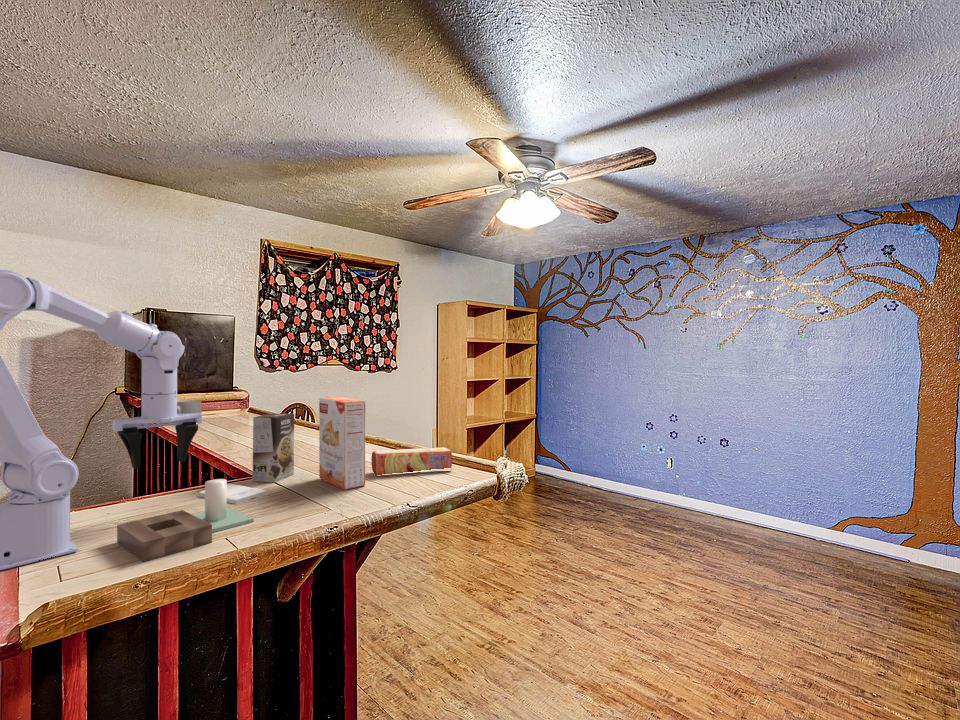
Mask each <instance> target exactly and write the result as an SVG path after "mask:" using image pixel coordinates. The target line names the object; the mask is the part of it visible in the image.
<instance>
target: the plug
mask: <svg viewBox="0 0 960 720" xmlns="http://www.w3.org/2000/svg"><path fill="white" fill-rule="evenodd" d="M227 481H228V480H227V479H225V478H216V479H211V480H207V481H205V482H204V490H205V498H204V512H205V521H208V522H215V521H220V520H223V519H225V518H226V517H227V507H228V506H227V505H228V502H227V484H228V482H227Z"/></svg>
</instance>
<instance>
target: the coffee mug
mask: <svg viewBox="0 0 960 720" xmlns="http://www.w3.org/2000/svg"><path fill="white" fill-rule="evenodd" d="M187 413H201V414H202V399H201V400H200V399H183V400H177V414H187Z"/></svg>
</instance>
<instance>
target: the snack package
mask: <svg viewBox="0 0 960 720" xmlns="http://www.w3.org/2000/svg"><path fill="white" fill-rule="evenodd" d="M452 454H453V453H452V451H451V450H450V448H447V447H445V446H443V447H430V448H428V447H427V448H425V447H424V448H421V447H420V448H403V449H401V448H400V449H376V450H375V449H374V450H373V451H372V453H371V470H372V473H373V472H374V473H373V475H374V474H375V475H382V474H392V473H403V472H413V471H421V470H431V469H444V468H451V467H453V455H452ZM451 469H452V468H451ZM375 475H374V476H375Z"/></svg>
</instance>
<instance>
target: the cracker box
mask: <svg viewBox="0 0 960 720" xmlns="http://www.w3.org/2000/svg"><path fill="white" fill-rule="evenodd" d="M318 398H319V399H318V401H319V408H318V409H319V410H318V411H319V413H318V415H319V416H318V417H319V420H318V422H319V423H318V425H319V427H318V429H319V433H318V435H319V436H318V438H319V439H318V441H319V442H318V443H319V444H318V447H319V451H318V452H319V453H318V454H319V456H318V458H319V459H318V460H319V462H318V463H319V464H318V465H319V471H318V472H319V475H318V476H319V479H321V480H323V481H325V482H327V483H329V484H331V485H333V486H335V487H336V488H339V489H340V490H343V491H346V490H347V489H348V490H352V489H357V488H360V487H359V486H362V487H365V486H366V401H365V400H361V399H357V398H356V399H355V398H349V397H344V396H340V395H338V396H322V397H318ZM364 485H365V486H364ZM356 487H357V488H356ZM348 490H347V491H348Z"/></svg>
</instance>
